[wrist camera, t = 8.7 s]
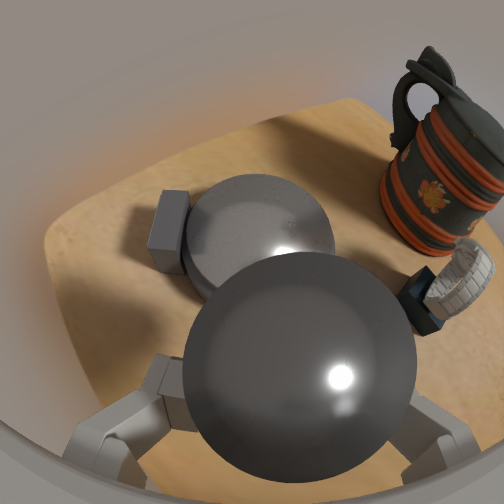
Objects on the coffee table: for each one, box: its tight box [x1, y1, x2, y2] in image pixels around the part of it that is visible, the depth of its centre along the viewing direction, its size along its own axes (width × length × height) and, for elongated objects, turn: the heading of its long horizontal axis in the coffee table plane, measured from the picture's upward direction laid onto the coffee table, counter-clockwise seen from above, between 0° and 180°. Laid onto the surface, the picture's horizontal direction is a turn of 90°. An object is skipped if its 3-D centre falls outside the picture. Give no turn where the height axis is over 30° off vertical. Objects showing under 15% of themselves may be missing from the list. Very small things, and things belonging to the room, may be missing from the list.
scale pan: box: [187, 174, 333, 289], centre depth 24 cm, size 13×13×1 cm
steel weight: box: [182, 252, 417, 483], centre depth 9 cm, size 5×5×9 cm
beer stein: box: [380, 46, 504, 257], centre depth 24 cm, size 19×15×20 cm
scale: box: [147, 190, 335, 301], centre depth 25 cm, size 14×16×5 cm
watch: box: [396, 237, 495, 336], centre depth 21 cm, size 6×8×11 cm
